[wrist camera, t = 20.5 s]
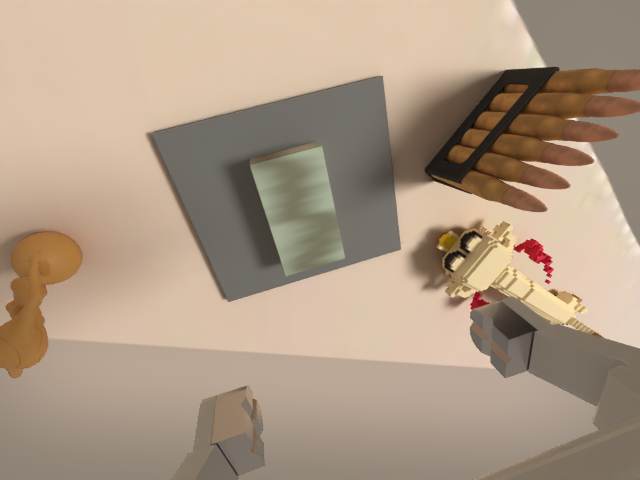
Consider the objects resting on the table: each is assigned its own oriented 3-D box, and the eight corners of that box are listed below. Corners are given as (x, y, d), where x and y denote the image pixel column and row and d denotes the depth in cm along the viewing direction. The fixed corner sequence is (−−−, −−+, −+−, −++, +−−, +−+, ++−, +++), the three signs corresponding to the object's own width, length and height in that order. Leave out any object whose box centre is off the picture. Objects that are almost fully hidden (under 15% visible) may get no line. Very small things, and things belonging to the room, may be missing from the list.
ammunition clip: (435, 181, 29) (541, 230, 19) (423, 170, 28) (526, 214, 18) (518, 83, 27) (694, 75, 16) (507, 68, 26) (684, 49, 15)
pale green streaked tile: (338, 246, 29) (315, 141, 25) (345, 258, 27) (322, 145, 22) (283, 262, 29) (249, 158, 24) (285, 276, 26) (249, 165, 22)
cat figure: (574, 276, 41) (469, 193, 30) (650, 319, 34) (551, 231, 22) (522, 329, 44) (408, 272, 32) (583, 379, 36) (463, 329, 25)
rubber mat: (228, 298, 30) (228, 302, 29) (153, 132, 22) (151, 133, 22) (398, 246, 31) (400, 249, 31) (379, 76, 24) (382, 75, 24)
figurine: (44, 191, 23) (-137, 275, 12) (131, 221, 25) (43, 314, 14) (23, 279, 25) (-142, 414, 14) (104, 300, 27) (13, 429, 17)
